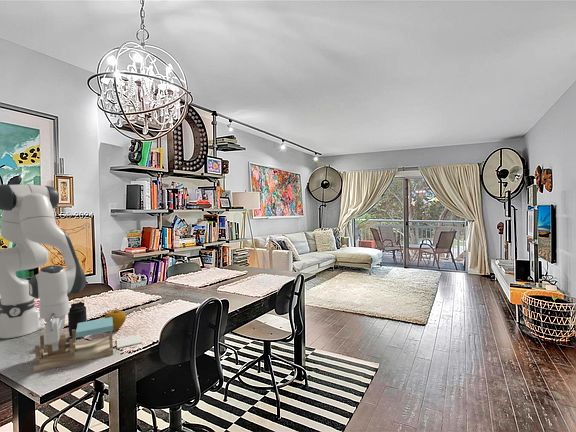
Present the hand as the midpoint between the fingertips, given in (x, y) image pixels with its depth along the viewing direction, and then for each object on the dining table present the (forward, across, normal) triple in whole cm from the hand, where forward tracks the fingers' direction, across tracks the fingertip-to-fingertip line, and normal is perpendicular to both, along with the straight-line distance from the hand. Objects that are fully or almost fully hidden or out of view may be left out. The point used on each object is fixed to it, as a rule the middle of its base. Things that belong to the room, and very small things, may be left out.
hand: (56, 346), depth 119 cm
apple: (+5, +20, -20) cm, 28 cm away
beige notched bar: (+5, 0, -6) cm, 7 cm away
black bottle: (+5, +21, -6) cm, 22 cm away
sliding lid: (-4, 0, -12) cm, 13 cm away
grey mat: (+5, +2, -24) cm, 25 cm away
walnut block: (+3, 0, 0) cm, 3 cm away
